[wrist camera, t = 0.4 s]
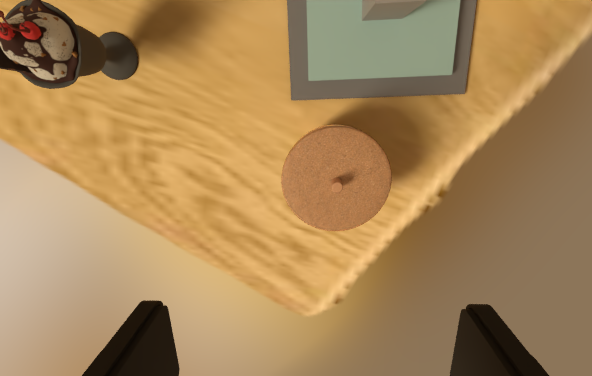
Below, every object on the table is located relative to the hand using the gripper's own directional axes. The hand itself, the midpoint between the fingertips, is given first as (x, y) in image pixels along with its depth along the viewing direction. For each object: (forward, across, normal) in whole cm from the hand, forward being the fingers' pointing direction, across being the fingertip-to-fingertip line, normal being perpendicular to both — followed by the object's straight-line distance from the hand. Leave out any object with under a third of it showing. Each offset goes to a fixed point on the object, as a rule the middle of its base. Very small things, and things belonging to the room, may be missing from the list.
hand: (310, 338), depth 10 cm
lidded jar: (+29, -2, +1) cm, 29 cm away
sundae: (+29, +22, -11) cm, 38 cm away
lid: (+28, -7, -16) cm, 33 cm away
